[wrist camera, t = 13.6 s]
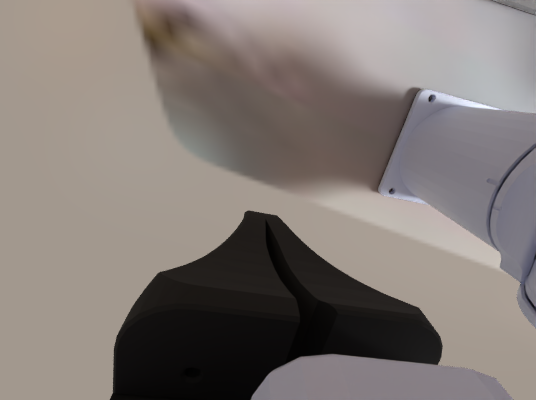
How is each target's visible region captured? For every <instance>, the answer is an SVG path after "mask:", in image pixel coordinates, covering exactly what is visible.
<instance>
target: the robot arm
mask: <svg viewBox="0 0 536 400" xmlns="http://www.w3.org/2000/svg"><path fill="white" fill-rule="evenodd" d="M430 95H432V100H431V101H430V102H429V101H428V98H429V96H430ZM391 188H393V191H392V192H390V193H389V190H390V189H391ZM378 191H379V193H380V194H381V195H383V196H388V197H393V198H398V199H403V200H407V201H412V202H417V203H422V204H427V205H430V206H432V207H433V208H435V209H436V210H438V211H439V212H441V213H442V214H444V215H445V216H447V217H448V218H450V219H451V220H453V221H454V222H456V223H457V224H459V225H460V226H462V227H463V228H465V229H466V230H468V231H469V232H471V233H472V234H474V235H475V236H477V237H478V238H480V239H481V240H483V241H484V242H485V243H487V244H488V245H490V246H491V247H493V248H494V249H496V250H497V251H499V252H500V254H501V263H500V268H501V269H502V270H504V271H505V272H507V273H508V274H509V275H511V276H512V277H513V278H515V279H516V280H518V281H519V282H520V283H521V284H520V286H519V288H518V291H517V301H518V304H519V307H520V309H521V311H522V312H523V314H524V315H525V316H526V318H527V319H528V321H529V322H530V323H531V324H532V325H533V326H534V327H535V328H536V114H534V113H525V112H515V111H507V110H503V109H499V108H496V107H492V106H488V105H485V104H481V103H477V102H474V101H470V100H466V99H462V98H459V97H455V96H451V95H448V94H444V93H440V92H437V91H433V90H429V89H422V90H420V91H419V92H418V93H417V94H416V97H415V99H414V102H413V104H412V106H411V109H410V111H409V114H408V116H407V119H406V121H405V124H404V126H403V129H402V131H401V133H400V136H399V138H398V141H397V143H396V146H395V148H394V151H393V153H392V156H391V158H390V161H389V163H388V165H387V168H386V170H385V173H384V175H383V178H382V180H381V183H380V185H379V188H378ZM441 354H442V342H441V338H440V336H439V334H438V333H437V332H436V330H435V329H434V327H433V326H432V325H431V323H430V322H429V321H428V320H427V318H426V317H425V315H424V314H423V313H422V311H421V310H420V309H419V308H418V307H415V306H413V305H410V304H408V303H405V302H403V301H401V300H398V299H395V298H393V297H391V296H388V295H386V294H383V293H381V292H379V291H377V290H375V289H373V288H371V287H369V286H367V285H365V284H363V283H361V282H359V281H357V280H355V279H354V278H352V277H350V276H348V275H347V274H345V273H343V272H342V271H340V270H338V269H337V268H335V267H334V266H332V265H331V264H330V263H328V262H327V261H325V260H324V259H323V258H321V257H320V256H319V255H317V254H316V253H315V252H314V251H313V250H311V249H310V248H309V247H308V246H307V245H306V244H305V243H303V242H302V241H301V240H300V239H299V238H298V237H297V236H296V235H295V234H294V233H293V232H292V231H291V230H290V229H289V227H288V226H287V225H286V224H285V223H284V222H283V221H282V220H281V219H280V218H279V217H278V216H276V215H271V214H264V213H259V212H254V211H247V212H245V214H244V218H243V220H242V222H241V223H240V225H239V226H238V228H237V229H236V230H235V231H234V233H233V234H232V235H231V236H230V237H229V238H228V239H227V240H226V241H225V242H224V243H222V244H221V245H220V246H219V247H218V248H216V249H215V250H213V251H212V252H210V253H209V254H207V255H206V256H204V257H202V258H200V259H198V260H196V261H193V262H192V263H189V264H186V265H183V266H180V267H177V268H173V269H170V270H167V271H163V272H160V273H158V274H157V275H156V276H155V277H154V279H153V280H152V281H151V282H150V283H149V285H148V286H147V287H146V289H145V290H144V291H143V293H142V294H141V295H140V297H139V298H138V299H137V301H136V302H135V304H134V305H133V307H132V308H131V310H130V312H129V314H128V316H127V317H126V319H125V321H124V323H123V325H122V327H121V329H120V331H119V333H118V335H117V338H116V342H115V346H114V370H113V371H114V372H113V394H112V396H111V398H110V400H513V398H512V397H511V396H510V395H509V394H508V393H507V391H506V390H505V389H504V388H503V387H502V385H501V384H500V383H499V382H498V381H497V380H496V378H494V377H491V376H488V375H485V374H483V373H480V372H477V371H475V370H471V369H468V368H462V367H453V366H442V365H438V363H439V361H440V358H441Z"/></svg>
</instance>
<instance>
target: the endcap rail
mask: <svg viewBox="0 0 536 400" xmlns="http://www.w3.org/2000/svg"><path fill="white" fill-rule="evenodd" d="M493 1H496V2H499V3H501V4H504V5H507V6H510V7H513V8H516V9H519V10H522V11H525V12H528V13H531V14H534V15H536V0H493Z"/></svg>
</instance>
